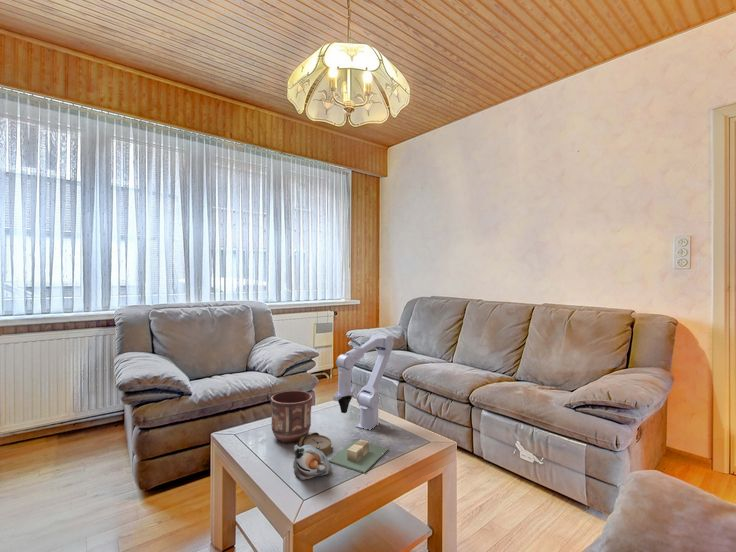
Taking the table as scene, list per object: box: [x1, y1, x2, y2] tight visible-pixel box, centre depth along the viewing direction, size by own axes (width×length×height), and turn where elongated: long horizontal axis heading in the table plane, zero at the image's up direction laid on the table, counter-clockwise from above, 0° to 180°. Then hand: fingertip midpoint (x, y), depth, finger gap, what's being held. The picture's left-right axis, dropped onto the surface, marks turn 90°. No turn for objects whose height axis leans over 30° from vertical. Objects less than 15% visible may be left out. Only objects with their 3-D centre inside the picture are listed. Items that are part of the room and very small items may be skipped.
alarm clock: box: [298, 432, 334, 456], centre depth 149 cm, size 11×5×15 cm
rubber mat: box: [328, 439, 389, 474], centre depth 143 cm, size 20×16×1 cm
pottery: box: [270, 390, 313, 444], centre depth 159 cm, size 18×18×18 cm
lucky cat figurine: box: [292, 444, 332, 481], centre depth 129 cm, size 15×12×14 cm
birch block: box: [347, 438, 370, 462], centre depth 142 cm, size 4×4×10 cm
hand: (343, 412), depth 161 cm, fingers closed
